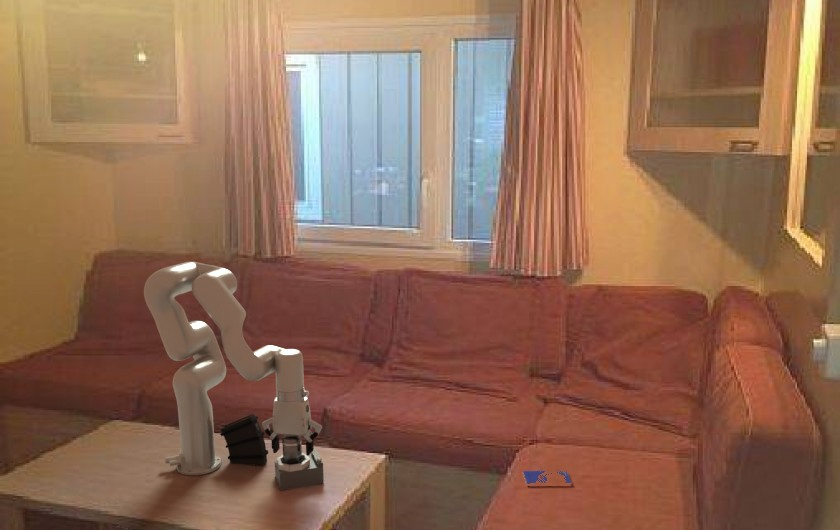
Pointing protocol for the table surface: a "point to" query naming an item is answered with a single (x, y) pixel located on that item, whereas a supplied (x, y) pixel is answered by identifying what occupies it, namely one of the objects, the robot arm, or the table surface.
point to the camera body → (299, 472)
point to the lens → (292, 449)
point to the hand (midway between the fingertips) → (292, 452)
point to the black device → (245, 441)
